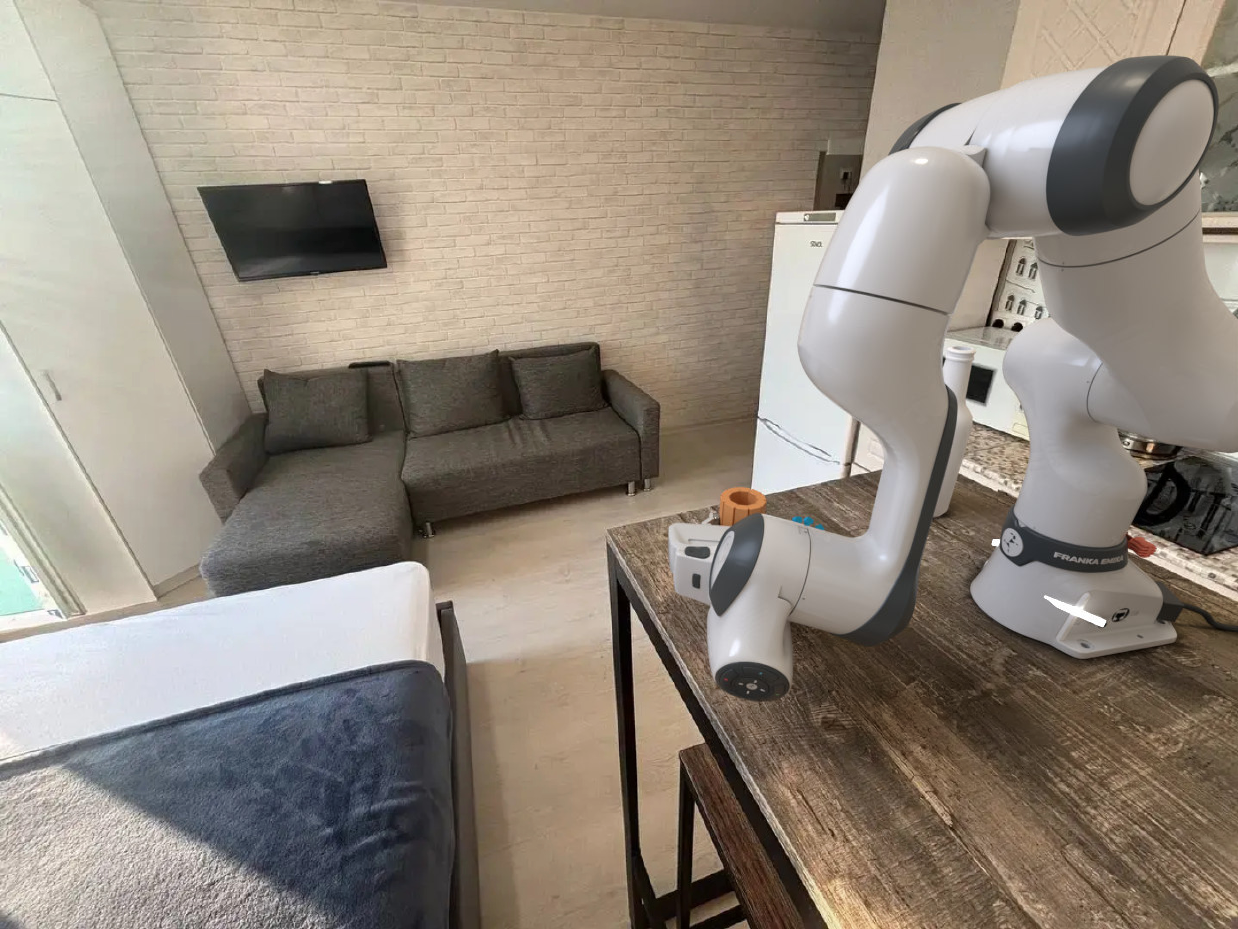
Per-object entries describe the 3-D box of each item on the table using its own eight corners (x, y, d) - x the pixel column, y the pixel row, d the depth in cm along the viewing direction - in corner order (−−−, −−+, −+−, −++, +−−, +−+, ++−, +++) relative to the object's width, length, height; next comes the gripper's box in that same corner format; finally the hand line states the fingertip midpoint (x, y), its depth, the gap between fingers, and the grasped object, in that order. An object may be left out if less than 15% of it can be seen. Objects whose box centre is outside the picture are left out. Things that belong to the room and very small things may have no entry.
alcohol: (952, 522, 91) (1003, 356, 77) (897, 515, 93) (937, 354, 80) (940, 497, 98) (985, 342, 85) (890, 492, 101) (925, 341, 87)
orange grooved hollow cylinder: (766, 545, 77) (772, 493, 73) (750, 568, 72) (756, 514, 68) (727, 533, 80) (731, 483, 76) (710, 554, 75) (713, 502, 71)
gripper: (838, 565, 59) (818, 504, 71) (663, 552, 63) (672, 495, 75) (830, 607, 62) (812, 541, 74) (662, 591, 65) (671, 531, 78)
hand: (740, 518), depth 74 cm, fingers closed on orange grooved hollow cylinder, 6 cm apart
